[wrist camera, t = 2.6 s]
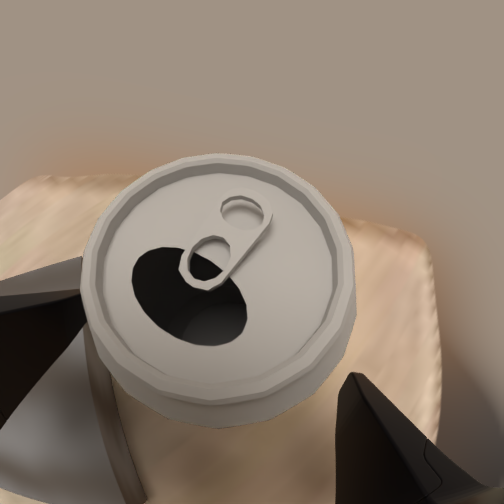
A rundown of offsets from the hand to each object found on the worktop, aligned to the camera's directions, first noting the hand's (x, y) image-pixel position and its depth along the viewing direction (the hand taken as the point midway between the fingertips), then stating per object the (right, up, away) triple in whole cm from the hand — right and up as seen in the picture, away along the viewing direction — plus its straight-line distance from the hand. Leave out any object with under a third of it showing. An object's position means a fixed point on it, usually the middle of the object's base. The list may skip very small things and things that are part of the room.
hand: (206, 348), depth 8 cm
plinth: (-15, -7, +5) cm, 17 cm away
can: (0, -3, +8) cm, 9 cm away
